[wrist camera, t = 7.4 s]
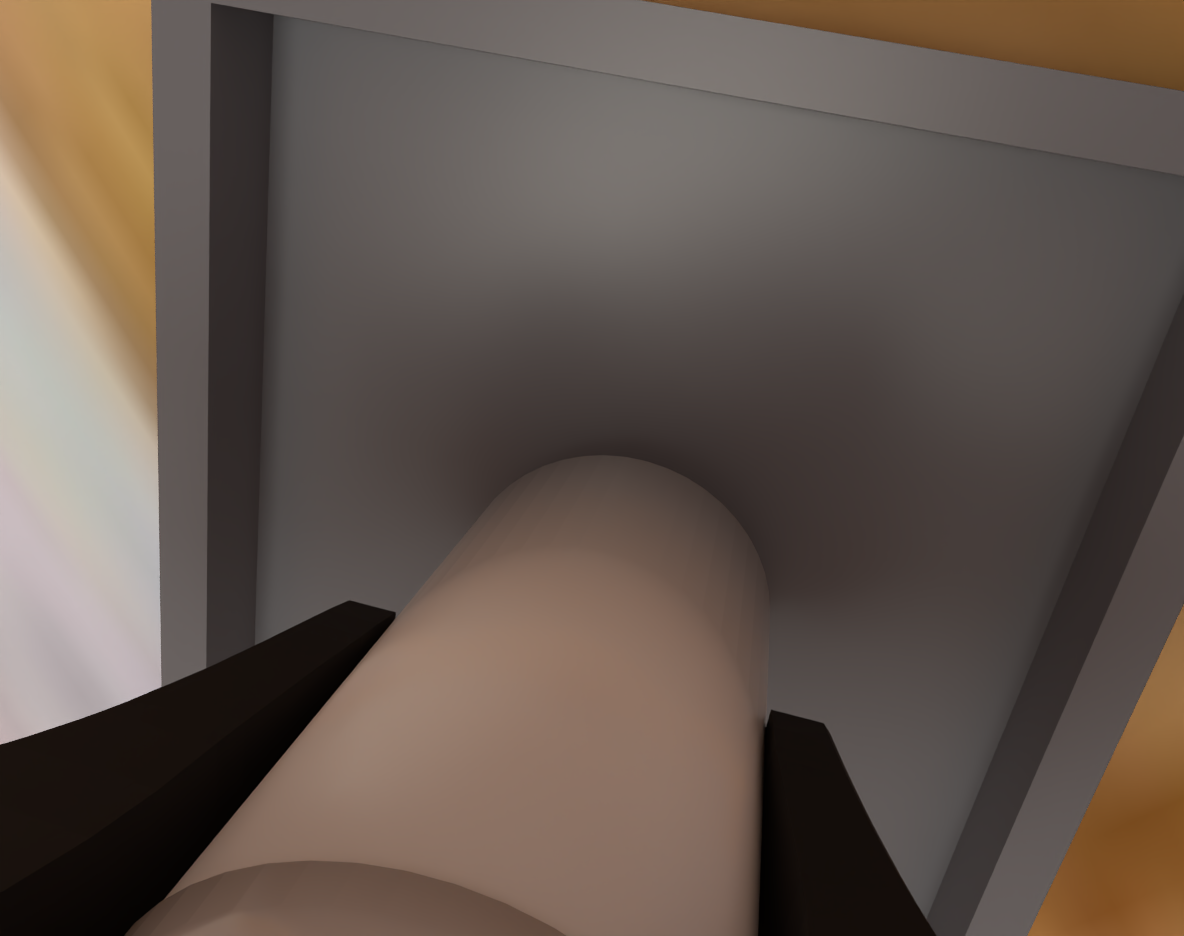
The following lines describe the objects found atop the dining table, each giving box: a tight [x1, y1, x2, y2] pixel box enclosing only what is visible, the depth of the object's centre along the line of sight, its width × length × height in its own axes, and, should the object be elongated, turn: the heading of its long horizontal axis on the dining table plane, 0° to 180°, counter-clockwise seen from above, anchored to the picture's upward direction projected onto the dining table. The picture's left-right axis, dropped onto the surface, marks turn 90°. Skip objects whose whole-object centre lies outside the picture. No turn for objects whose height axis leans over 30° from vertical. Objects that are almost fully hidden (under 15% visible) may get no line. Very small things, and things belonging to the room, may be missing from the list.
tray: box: [151, 0, 1184, 936], centre depth 15 cm, size 14×16×2 cm
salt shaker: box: [124, 455, 770, 936], centre depth 9 cm, size 5×5×9 cm
